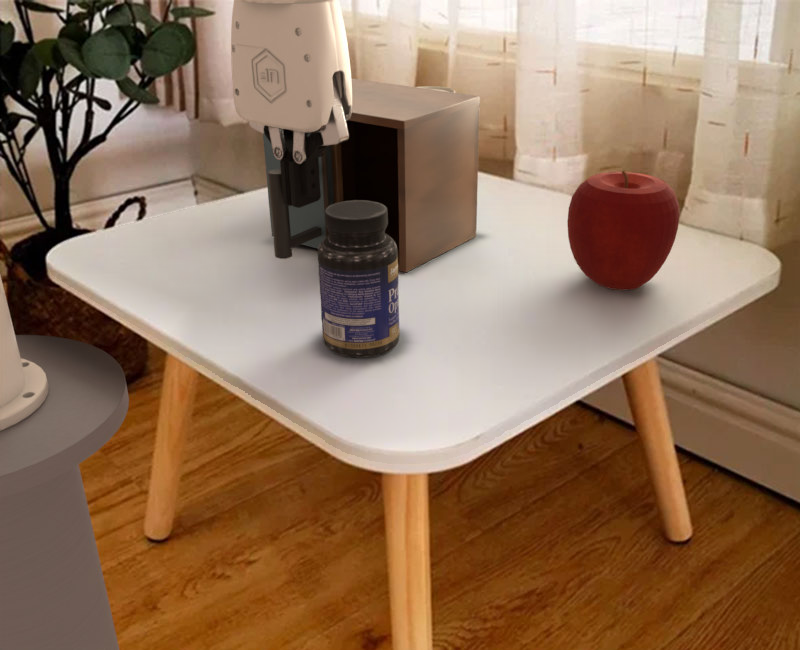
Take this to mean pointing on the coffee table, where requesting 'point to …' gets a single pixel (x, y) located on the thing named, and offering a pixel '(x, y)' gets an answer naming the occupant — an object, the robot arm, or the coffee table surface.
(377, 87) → the cabinet
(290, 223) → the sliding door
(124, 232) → the coffee table surface
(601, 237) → the apple
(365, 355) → the pill bottle
